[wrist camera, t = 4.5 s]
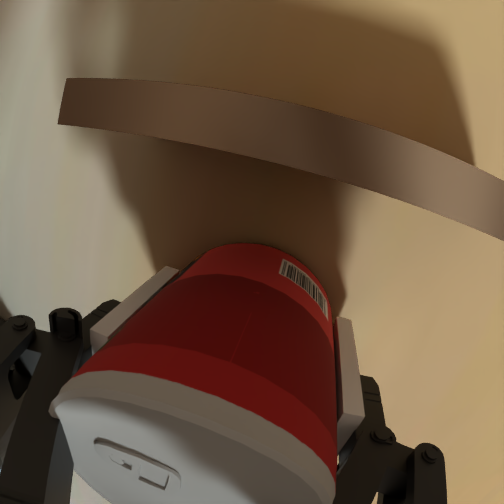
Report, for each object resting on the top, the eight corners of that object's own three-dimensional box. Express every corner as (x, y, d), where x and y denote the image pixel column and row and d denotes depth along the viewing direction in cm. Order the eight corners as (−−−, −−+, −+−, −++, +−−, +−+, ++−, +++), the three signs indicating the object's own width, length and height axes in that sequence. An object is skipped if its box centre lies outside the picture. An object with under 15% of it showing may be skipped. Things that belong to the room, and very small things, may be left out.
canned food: (178, 230, 16) (8, 345, 6) (342, 246, 15) (382, 433, 4) (183, 356, 18) (90, 504, 8) (319, 377, 17) (305, 560, 7)
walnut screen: (155, 129, 15) (57, 124, 8) (161, 100, 14) (66, 78, 8) (469, 217, 13) (553, 265, 7) (478, 188, 13) (568, 219, 6)
